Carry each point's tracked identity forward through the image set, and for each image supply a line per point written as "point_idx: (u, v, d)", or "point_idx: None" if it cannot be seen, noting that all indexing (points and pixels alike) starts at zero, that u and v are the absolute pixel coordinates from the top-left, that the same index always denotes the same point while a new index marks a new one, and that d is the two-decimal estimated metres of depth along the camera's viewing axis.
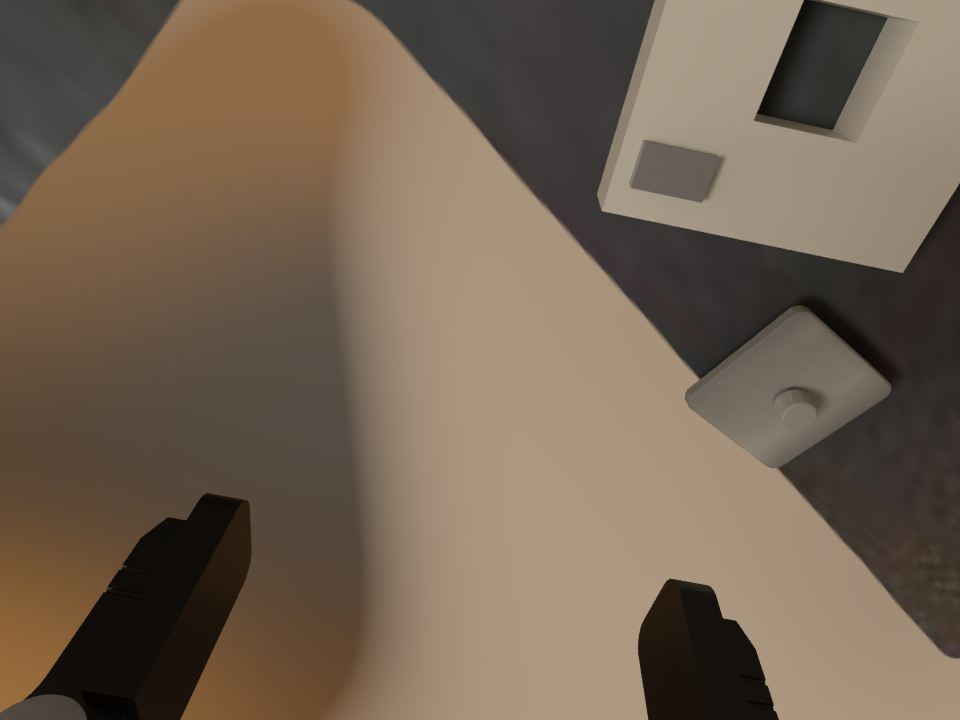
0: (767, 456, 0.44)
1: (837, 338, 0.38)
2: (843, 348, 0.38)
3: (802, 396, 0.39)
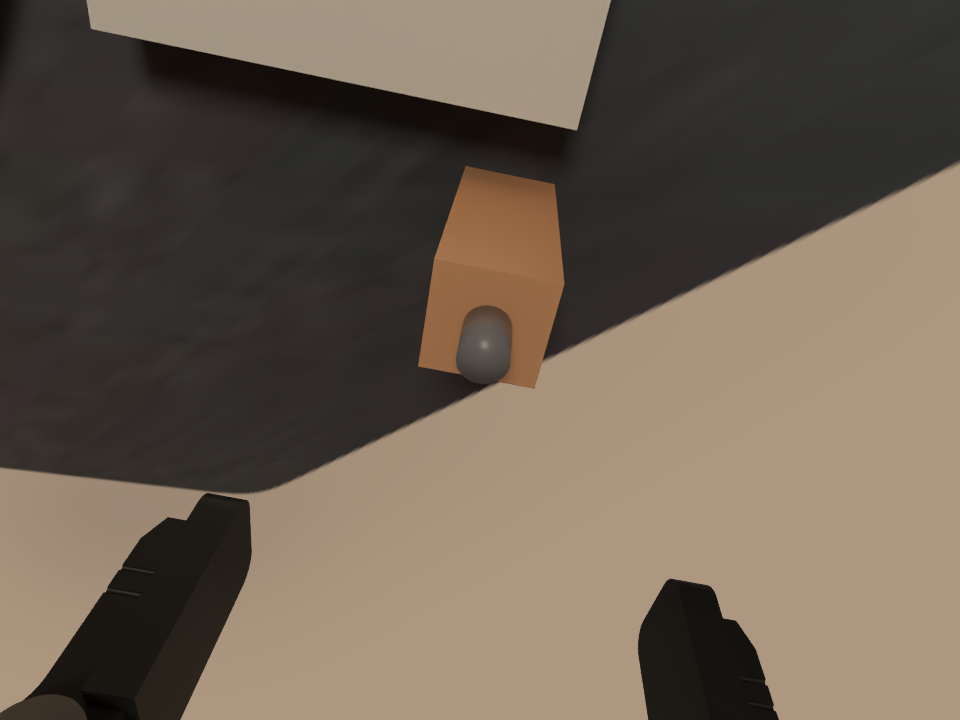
0: None
1: None
2: None
3: None
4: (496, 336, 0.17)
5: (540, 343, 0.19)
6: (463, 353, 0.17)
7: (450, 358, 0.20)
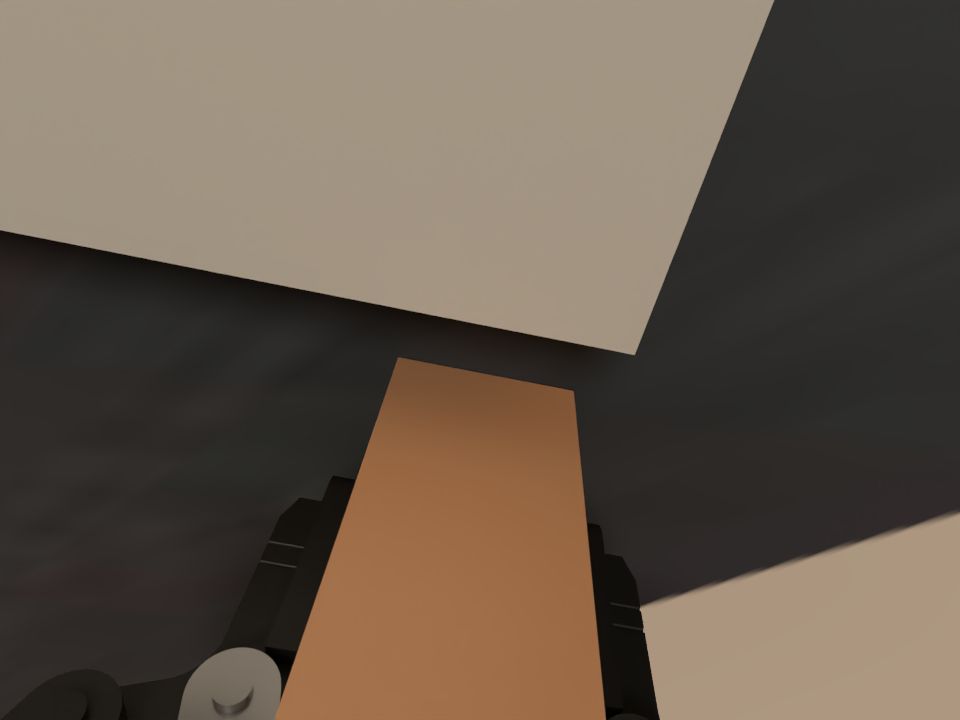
0: None
1: None
2: None
3: None
4: None
5: None
6: None
7: None
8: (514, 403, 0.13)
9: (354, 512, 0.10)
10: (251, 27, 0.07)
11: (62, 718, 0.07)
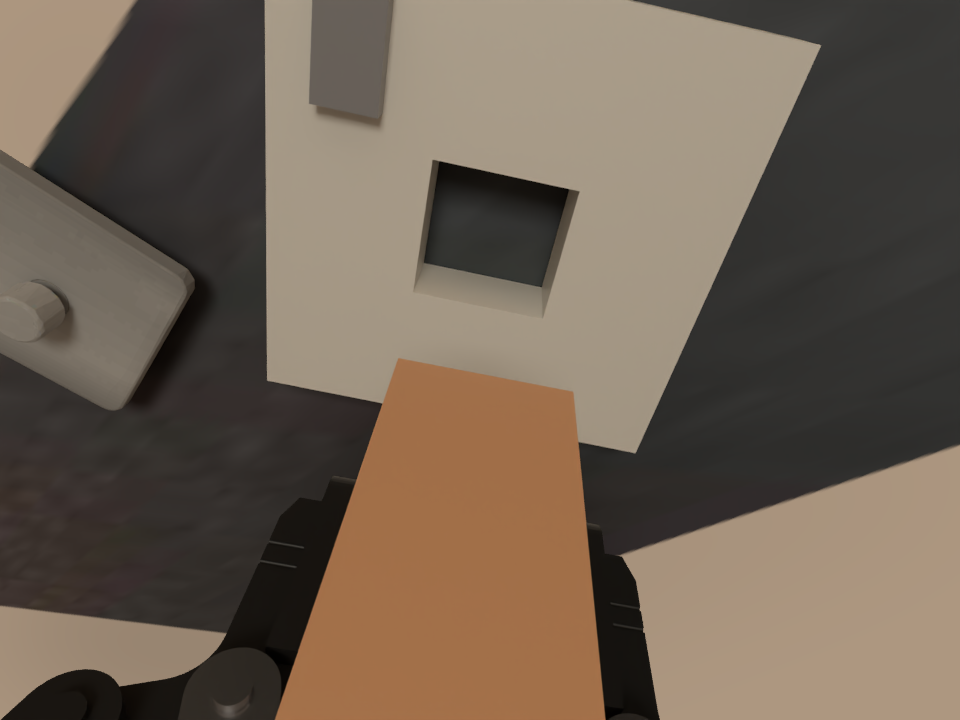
0: None
1: (161, 335, 0.28)
2: (150, 345, 0.28)
3: (54, 316, 0.26)
4: None
5: None
6: None
7: None
8: (514, 404, 0.13)
9: (354, 513, 0.10)
10: (534, 372, 0.27)
11: (62, 717, 0.07)
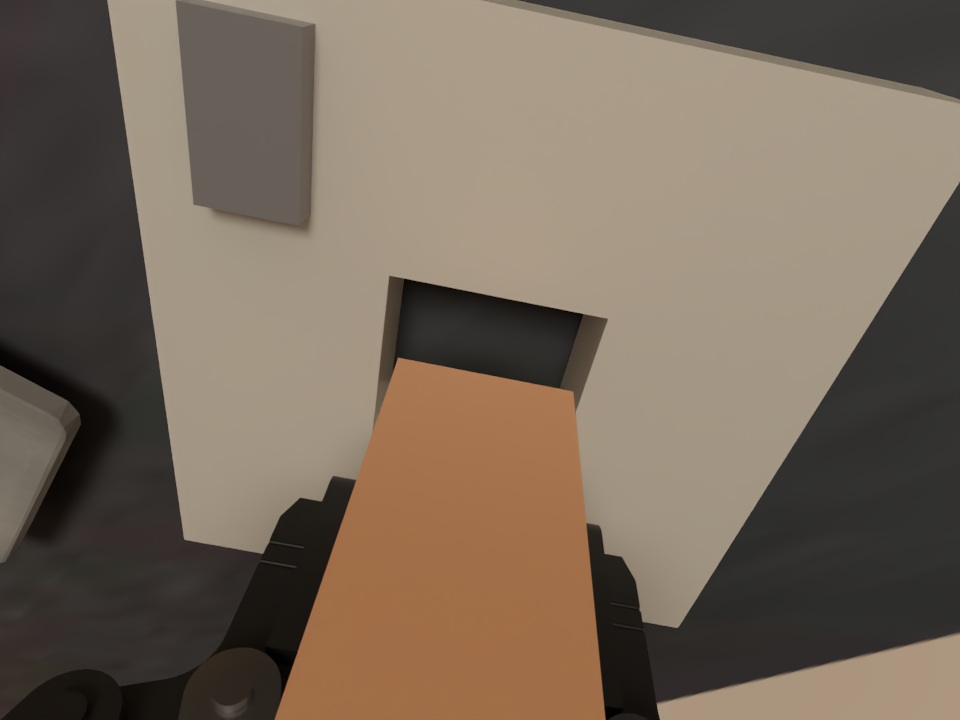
0: None
1: (41, 483, 0.21)
2: (27, 496, 0.21)
3: None
4: None
5: None
6: None
7: None
8: (514, 404, 0.13)
9: (354, 513, 0.10)
10: None
11: (62, 717, 0.07)
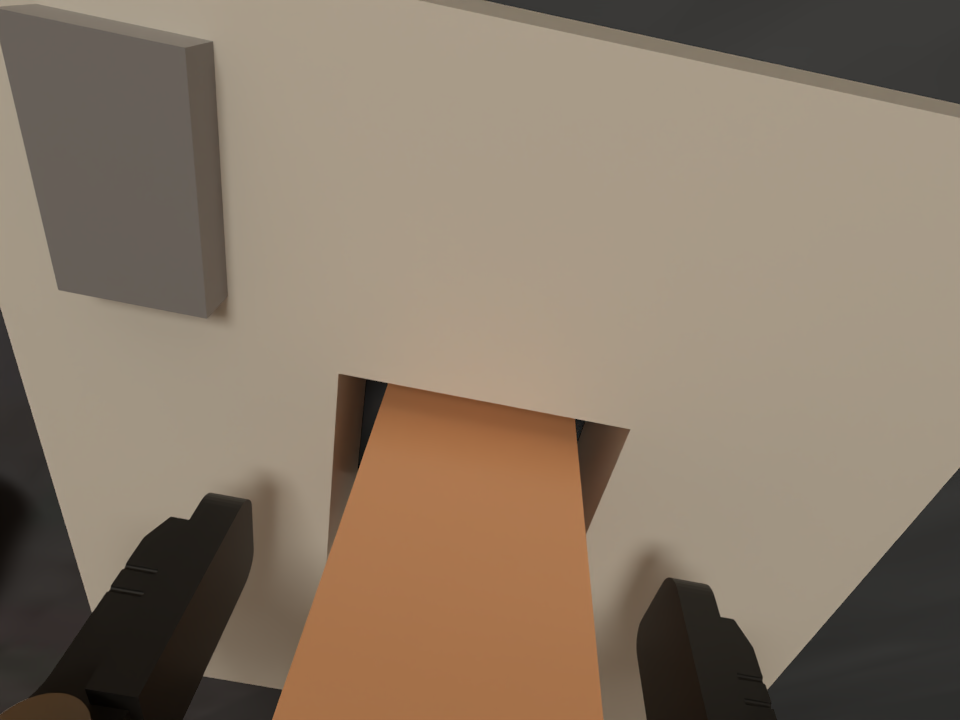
0: None
1: None
2: None
3: None
4: None
5: None
6: None
7: None
8: None
9: (366, 470, 0.10)
10: None
11: None
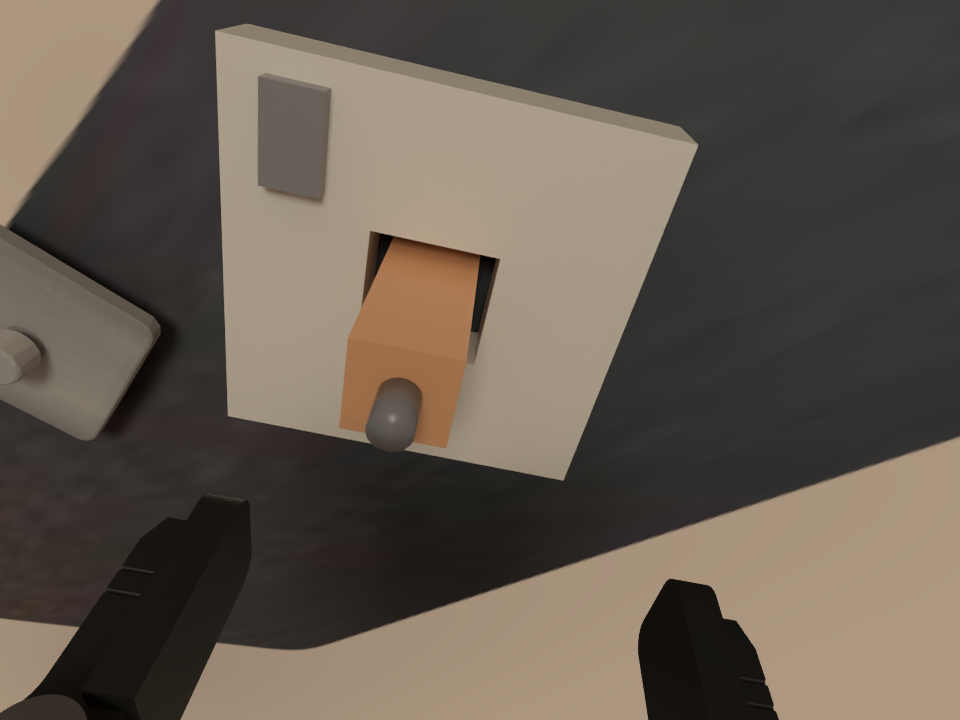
0: None
1: (130, 375, 0.31)
2: (120, 384, 0.31)
3: (31, 360, 0.29)
4: (401, 411, 0.19)
5: (449, 410, 0.21)
6: (371, 426, 0.19)
7: None
8: None
9: (383, 268, 0.24)
10: (469, 410, 0.30)
11: None
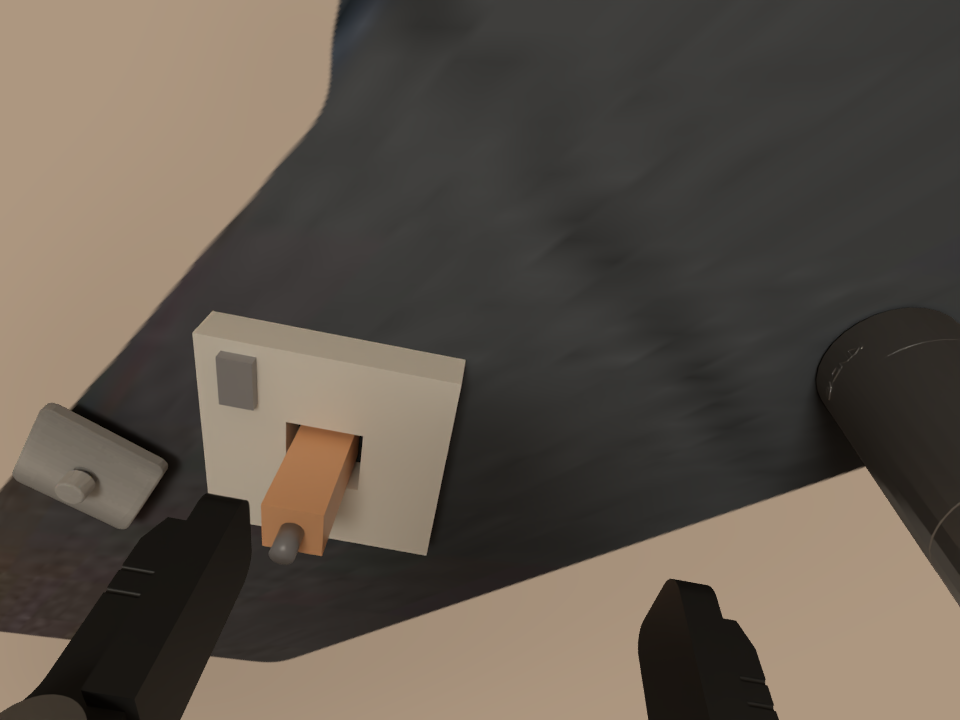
0: (22, 471, 0.48)
1: (149, 492, 0.49)
2: (143, 498, 0.49)
3: (90, 488, 0.47)
4: (286, 545, 0.37)
5: (319, 537, 0.39)
6: (271, 553, 0.37)
7: None
8: None
9: (292, 446, 0.42)
10: (359, 515, 0.48)
11: None
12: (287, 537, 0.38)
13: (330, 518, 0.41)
